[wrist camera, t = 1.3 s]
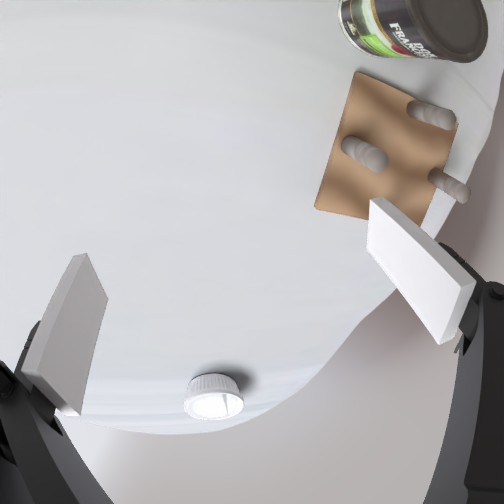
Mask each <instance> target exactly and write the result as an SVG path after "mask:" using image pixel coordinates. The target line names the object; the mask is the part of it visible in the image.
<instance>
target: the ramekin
mask: <svg viewBox="0 0 504 504" xmlns="http://www.w3.org/2000/svg"><path fill="white" fill-rule="evenodd" d="M243 407H244V400H243V397H242V396H241V395H240V392H239V389H238V387H237V384H236V383H235V381H234V380H233V379H231V378H230V377H228V376H226V375H223V374H216V373H213V374H204V375H201V376H198V377H196V378H194V379H193V380H192V381H191V382H190V383H189V385H188V387H187V392H186V398H185V400H184V410H185V411H186V412H187V413H188V414H189V415H190V416H192V417H195V418H198V419H203V420H220V419H225V418H229V417H231V416H234V415H236V414H237V413H239V412H240V411H241V410H242V409H243Z"/></svg>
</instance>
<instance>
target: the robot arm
mask: <svg viewBox="0 0 504 504" xmlns="http://www.w3.org/2000/svg"><path fill="white" fill-rule="evenodd" d="M367 251H368V252H369V253H370V254H371V255H372V257H373V258H374V259H375V260H376V262H377V263H378V264H379V265H380V267H381V268H382V269H383V270H384V272H385V273H386V274H387V275H388V277H389V278H390V279H391V281H392V282H393V283H394V284H395V286H396V287H397V288H398V289H399V291H400V292H401V294H402V295H403V296H404V298H405V299H406V300H407V302H408V303H409V304H410V305H411V307H412V308H413V310H414V311H415V312H416V314H417V315H418V316H419V318H420V319H421V321H422V322H423V323H424V325H425V326H426V328H427V329H428V330H429V332H430V333H431V334H432V336H433V338H434V339H435V340H436V342H437V343H438V345H439V344H442V343H444V342H446V341H449V340H451V339H453V338H454V336H455V334H456V331H457V329H458V327H459V328H460V330H461V331H462V332H463V334H462V336H461V338H460V340H459V343H458V344H457V347H456V348H455V351H454V353H457V351H458V349H459V348H460V349H459V358H458V367H457V374H456V381H455V388H454V394H453V399H452V404H451V409H450V414H449V419H448V424H447V428H446V432H445V436H444V440H443V444H442V448H441V451H440V455H439V459H438V462H437V465H436V468H435V472H434V475H433V478H432V481H431V484H430V486H429V490H428V492H427V495H426V497H425V500H424V502H423V504H504V285H502V284H500V283H498V282H492V281H490V282H486V281H484V279H483V278H482V277H481V276H480V275H479V274H478V273H477V272H476V271H475V270H474V269H473V268H472V267H471V266H470V265H469V264H468V263H465V260H463V259H462V258H461V257H459V255H458V254H457V253H456V252H455V251H454V250H453V249H452V248H450V247H448V246H447V245H445V244H443V243H437V242H436V241H434V240H433V239H432V238H431V237H430V236H429V235H428V234H427V233H426V232H424V231H423V230H422V229H421V228H420V227H419V226H418V225H417V224H415V223H414V222H413V221H412V220H411V219H410V218H408V217H407V216H406V215H405V214H404V213H402V212H401V211H400V210H399V209H398V208H396V207H395V206H394V205H393V204H392V203H390V202H389V201H388V200H387V199H385V198H384V197H381V198H375V199H370V207H369V223H368V237H367ZM107 302H108V297H107V295H106V293H105V291H104V289H103V287H102V285H101V283H100V281H99V279H98V277H97V275H96V272H95V270H94V268H93V266H92V264H91V261H90V259H89V257H88V255H87V253H85V254H80V255H76V256H73V258H72V260H71V261H70V263H69V265H68V267H67V269H66V271H65V273H64V274H63V276H62V278H61V280H60V282H59V284H58V286H57V288H56V290H55V292H54V294H53V296H52V298H51V300H50V302H49V304H48V307H47V309H46V311H45V313H44V315H43V317H42V320H41V321H38V322H37V324H36V325H35V326H34V327H33V329H32V330H31V332H30V334H29V336H28V339H27V342H26V344H25V346H24V349H23V351H22V353H21V356H20V358H19V361H18V363H17V366H16V369H15V371H14V374H13V372H12V371H11V370H10V369H9V368H8V367H7V366H6V364H5V363H4V362H3V361H0V504H114V503H113V502H112V501H111V499H110V498H109V497H108V496H107V494H106V493H105V492H104V490H103V489H102V488H101V486H100V485H99V483H98V482H97V481H96V479H95V478H94V476H93V475H92V473H91V472H90V470H89V469H88V467H87V466H86V464H85V463H84V461H83V460H82V458H81V457H80V455H79V454H78V452H77V450H76V449H75V447H74V445H73V444H72V442H71V440H70V439H69V437H68V435H67V434H66V432H65V430H64V428H63V426H62V425H61V423H60V421H59V420H58V418H57V417H56V416H55V415H54V413H55V409H56V408H57V409H58V410H59V411H60V412H61V413H62V414H63V415H64V416H80V415H81V410H82V404H83V399H84V394H85V389H86V384H87V379H88V375H89V370H90V366H91V362H92V357H93V353H94V349H95V345H96V341H97V337H98V334H99V330H100V326H101V323H102V319H103V316H104V312H105V309H106V305H107Z"/></svg>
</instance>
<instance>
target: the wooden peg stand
mask: <svg viewBox="0 0 504 504" xmlns="http://www.w3.org/2000/svg"><path fill="white" fill-rule="evenodd" d="M457 128H458V123H457V122H456V117H455V114H454V113H453V111H451V110H448V109H445V108H441V107H437V106H434V105H430V104H426V103H423V102H421V101H419V100H417V99H415V98H413V97H411V96H409V95H407V94H405V93H403V92H401V91H399V90H397V89H395V88H393V87H391V86H389V85H387V84H385V83H383V82H380V81H378V80H376V79H374V78H371V77H369V76H367V75H364V74H362V73H360V72H355V73H354V76H353V80H352V83H351V87H350V90H349V94H348V97H347V101H346V104H345V108H344V111H343V115H342V118H341V121H340V125H339V128H338V131H337V135H336V138H335V141H334V144H333V148H332V151H331V154H330V157H329V161H328V164H327V167H326V170H325V173H324V176H323V179H322V182H321V186H320V189H319V192H318V195H317V198H316V201H315V204H314V207H315V208H316V209H317V210H321V211H326V212H331V213H336V214H341V215H346V216H351V217H356V218H361V219H365V220H369V207H370V199H375V198H381V197H384V198H385V199H387V200H388V201H389V202H390V203H392V204H393V205H394V206H395V207H396V208H398V209H399V210H400V211H401V212H402V213H404V214H405V215H406V216H407V217H408V218H410V219H411V220H412V221H413V222H414V223H415V224H417V225H418V226H419V227H420V226H421V224H422V221H423V219H424V217H425V214H426V212H427V210H428V207H429V205H430V203H431V200H432V198H433V195H434V193H435V190H436V188H437V187H438V188H439V189H441V190H442V191H444V192H445V193H447V194H448V195H450V196H451V197H453V198H454V199H456V200H457V201H459V202H460V203H466V202H467V201H468V200H469V198H470V194H471V190H470V188H469V187H468V186H466V185H465V184H463V183H461V182H460V181H458V180H456V179H454V178H453V177H451V176H449V175H448V174H446V173H444V172H443V169H444V167H445V164H446V161H447V158H448V155H449V152H450V149H451V146H452V143H453V140H454V137H455V134H456V131H457Z"/></svg>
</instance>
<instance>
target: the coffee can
mask: <svg viewBox="0 0 504 504" xmlns="http://www.w3.org/2000/svg"><path fill="white" fill-rule="evenodd" d="M338 18H339V22H340V25H341V28H342V30H343V32H344V34H345V35H346V37H347V38H348V40H349V41H350V42H351V43H352V44H353V45H354V46H355V47H356V48H357V49H359V50H360V51H362V52H363V53H365V54H367V55H370V56H373V57H378V58H387V57H409V58H428V59H441V60H450V61H453V62H459V63H469V62H472V61H474V60H476V59H477V58H478V57H480V55H481V54H482V53H483V51H484V49H485V46H486V43H487V38H488V23H487V17H486V13H485V10H484V7H483V4H482V2H481V0H340V2H339V7H338Z"/></svg>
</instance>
